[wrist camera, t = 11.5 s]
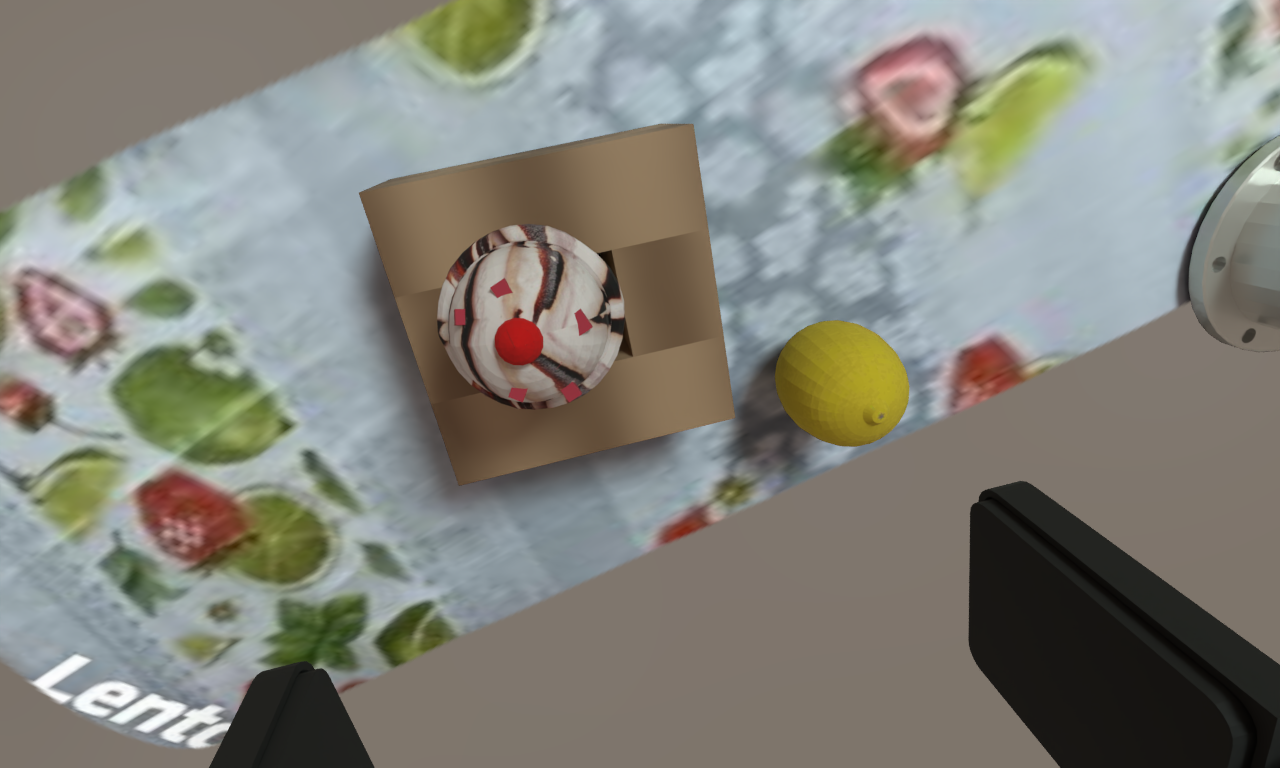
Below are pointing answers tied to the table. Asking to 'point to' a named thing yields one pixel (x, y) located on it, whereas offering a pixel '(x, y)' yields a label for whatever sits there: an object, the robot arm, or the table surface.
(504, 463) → the cone stand
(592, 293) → the ice cream cone
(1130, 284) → the table surface
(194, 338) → the table surface
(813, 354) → the lemon
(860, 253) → the table surface
